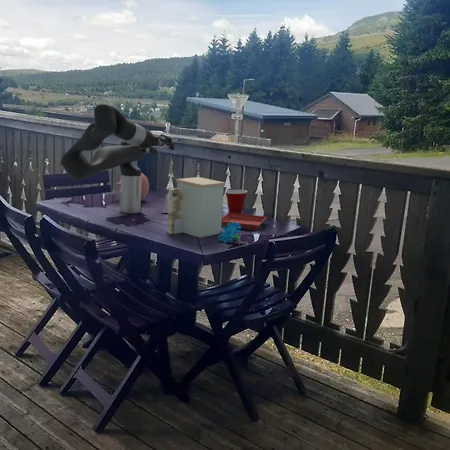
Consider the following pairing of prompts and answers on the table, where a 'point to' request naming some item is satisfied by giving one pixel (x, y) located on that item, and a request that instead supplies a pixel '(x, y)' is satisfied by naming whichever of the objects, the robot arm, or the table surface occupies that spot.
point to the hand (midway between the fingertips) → (164, 150)
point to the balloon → (143, 185)
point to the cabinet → (200, 207)
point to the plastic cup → (235, 200)
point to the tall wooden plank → (174, 207)
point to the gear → (230, 233)
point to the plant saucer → (243, 220)
